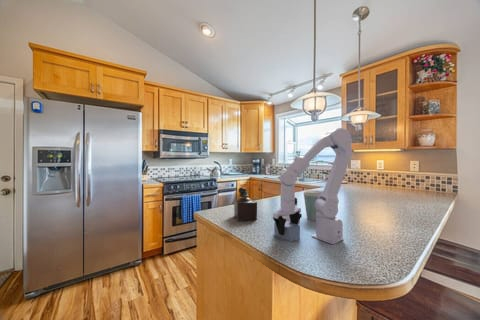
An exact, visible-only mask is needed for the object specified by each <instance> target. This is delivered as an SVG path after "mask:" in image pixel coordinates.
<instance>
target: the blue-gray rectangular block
mask: <svg viewBox="0 0 480 320" xmlns="http://www.w3.org/2000/svg"><path fill="white" fill-rule="evenodd" d="M273 225H274V226H273V227H274V229H273V231H274V236H276V235H277V236H279V237H281V238H284V239H286V240H288V241H289V242H290V243H291V242H293V241H297V240H300V239H301V225H300V224H298V225H297V224H294V223H291V222H288V221H286V222H285V227H284V235H283V236H282V235H280V234H279V233H278V229H277V226H276V223H275V222H274V223H273ZM281 238H280V239H281ZM289 242H288V243H289Z"/></svg>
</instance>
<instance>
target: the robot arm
mask: <svg viewBox="0 0 480 320" xmlns="http://www.w3.org/2000/svg"><path fill="white" fill-rule="evenodd" d="M351 141H352V136H351V134H350V132H349V131H348V130H347V129H345V128H342V127H340V128H339V127H338V128H336V129H333V130H329V131H327V132H326V133H325V134H324V135H322V136H321V137H320V138H319V139H318V140H317V141H316V142H315V143H314V144H313V146H312V147H311V148H310V149H309V150H307V152H306V153H305V154H304V155H300V156H298V157H294V159H293V161H292V163H290V165H289V166H286V167H285V170H283V171H282V172H281V173H280V175H279V176H278V177H279V181H280V208H278V210H277V211H274V212H272V213H273V214H272V219H273V221H274V223H276V226H277V229H278V233H279V234H280V235H282V236H283V235H284V227H285V222H286V219H283V216H286V215H289V217H290V222H291V223H294V224H297V225H299V223H300V222H299V220H300V221H301V219H302V216H303V214H302V209H301V207H299V206H297V207H296V208H295V198H296V195H295V194H296V192H295V191H296V189H295V184H296V183H297V179H298V178H299V177H300V176H302V174H303V173H304V172H306V170H307V169H308V168H309V167H310V162H311V161H312V160H314V158H315V157H317V156H318V155H319V153H321V152H322V151H323V150H325V149H326V148H329V147H330V148H331V149H332V150H333V152H334V153H335V158H334V160H333V163H332V166H331V169H330V172H329V174H328V177H327V179H326V183H325V186H324V189H323V190H322V191H323V192H322V193H321V194H320V196H319V198H318V199H316V201H315V204H314V205H315V208H316V210H317V213H316V220H315V233H314V234H311V237H312V238H314V239H318V240H320V241H322V242H326V243H328V244H331V245H335V244H337V243H338V242H340V241H343V240H344V237H343V236H344V234H343V232H344V231H343V230H344V229H343V225H344V224H343V221H342V219H339V218H337V217H336V216H337V215H338V212H339V208H338V207H339V202H340V201H339V196H338V194H339V192H340V188H341V185H342V183H343V180H344V178H345V174H346V172H347V170H348V166H349V164H350V161H351V158H352V155H353V149H352V148H353V147H352V142H351ZM299 213H300V214H299Z"/></svg>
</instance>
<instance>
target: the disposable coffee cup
mask: <svg viewBox="0 0 480 320" xmlns="http://www.w3.org/2000/svg"><path fill="white" fill-rule="evenodd" d="M323 191H324V190H318V189H316V190H314V189H313V190H305V191H304V192H303V199H304V205H305V207H304V208H305V213H306V219H308V220H310V221H316V213H317V210H316V208H315V205H314V204H315V201H316V199H318V198H319V196H320V194H321V193H322V192H323Z"/></svg>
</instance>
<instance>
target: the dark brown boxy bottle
mask: <svg viewBox="0 0 480 320" xmlns="http://www.w3.org/2000/svg"><path fill="white" fill-rule="evenodd" d="M247 189H248V188H247V187H244V186H243V187H242V186H241V187H239V188H238V190H237V191H238V193H239V197H238V198H237V199H235V198H234V199H233V200H234V201H233V205H234V207H233V209H234V210H233V211H234V214H233V217H234V218H235V220H236V221H237V222H248V221H251V222H252V221H257V220H258V218H257V217H258V202H257V201H255V200H254V199H253V198H250V197H249V195H250V194H249V193H248V191H247Z"/></svg>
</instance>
